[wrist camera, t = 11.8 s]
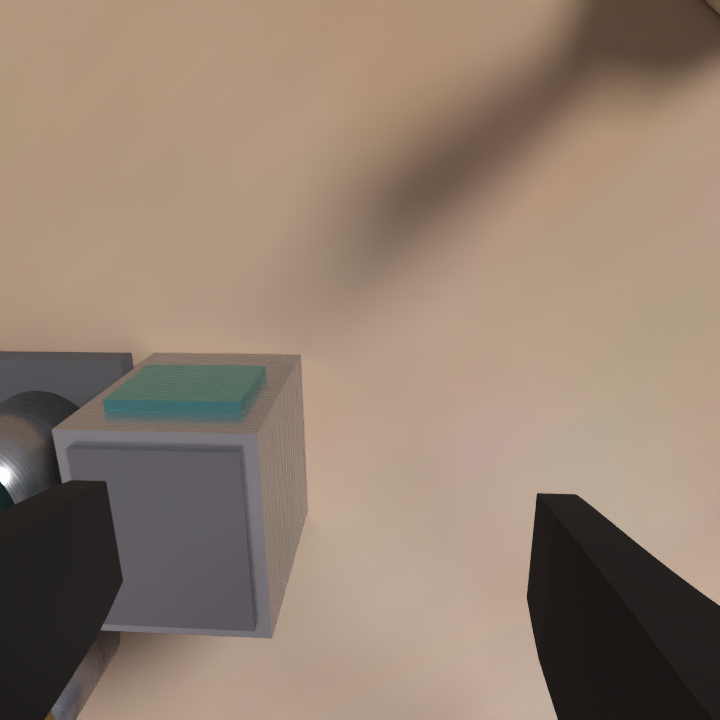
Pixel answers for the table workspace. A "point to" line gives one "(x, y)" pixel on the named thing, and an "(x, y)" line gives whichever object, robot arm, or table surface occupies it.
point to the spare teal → (29, 444)
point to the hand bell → (714, 5)
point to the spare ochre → (86, 677)
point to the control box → (197, 488)
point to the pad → (61, 373)
